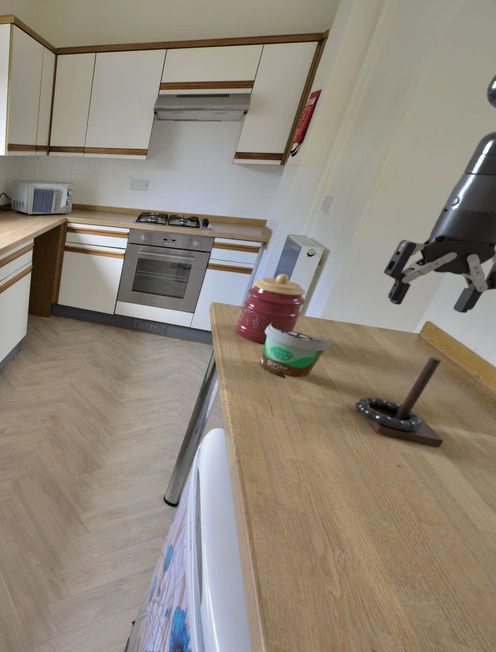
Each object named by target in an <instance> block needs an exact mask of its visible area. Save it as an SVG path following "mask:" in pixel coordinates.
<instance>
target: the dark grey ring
mask: <svg viewBox="0 0 496 652" xmlns="http://www.w3.org/2000/svg"><path fill="white" fill-rule="evenodd" d="M401 406H402V404H399V403H397V402H394V401H391V400H389V399H384V398H379V397H375V396H370V397H367V396H365V397H360V398H358V400H357V401H356V402H355V408H356V409H357V410H358V412H359V413H360V414H361V416H363V415H364V416H365V417H367V418H369V419H370V420H372V421H374V422H376V423H379V424H381V425H384V426H386V427H389V428H394V429H398V430H403V431H411V430H418V429H420V427H421V426H422V424H423V421H422V419H423V418H422V417H421V416H420V415H419V414H418V413H417V412H416V411H413V409H412V410H411V412H410V413H409V415H408V416H407V418H406V420H399V419H395V418H391V417H388V416H386V415H383V414H381V413H378V412H377V411H375V410H373V409H372V408H370V407H378V408H383V409H386V410H389V411H391V412H394V413H398V411H399V409H400V408H401ZM416 413H417V414H418V415H419V416H420V417H421V418H422V419H421V418H420V417H419V416H418V415H417V414H416ZM364 416H363V417H364ZM365 417H364V418H365Z"/></svg>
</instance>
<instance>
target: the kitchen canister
mask: <svg viewBox="0 0 496 652" xmlns="http://www.w3.org/2000/svg"><path fill="white" fill-rule="evenodd" d="M289 278H290V277H289V275H287V274H285V273H280V274H278V275H277V276H276V277H275V278H273V277H264V278H262V279H259V280H256V281H254V283H253V284H254V287H251V288H248V290H247V293H248V297H247V299H245V300H244V302H243V307H242V310H241V312H240V316H239V318H238V320H237V321H236V326H235V331H236V333H238V335H239V336H241V337H243V338H245V339H247V340H250V341H253V342H256V343H259V344H264V345H265V342H266V338H267V335H266V334H265V330H266V328H267V327H268V325H270V324H271V326H272V327H274V328H278V329H281V330H286V331H292V332H294V329H295V327H296V324H297V322H298V319H299V317H300V316H301V314H302V313H301V307H302V306H303V305H305V304H306V303H307V301H306V299H305V298H304V296H303V295H305V294H306V290H305V289H304V288H302V286H301V285H300V284H299V283H296V282H293V281H291V280H289Z"/></svg>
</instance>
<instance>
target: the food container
mask: <svg viewBox="0 0 496 652" xmlns="http://www.w3.org/2000/svg"><path fill="white" fill-rule="evenodd" d="M265 334H266V335H267V338H266V342H265V344H264V347H263V351H262V354H261V358H260V367H261V368H263V370H265V371H266V372H268V373H270V374H271V375H274V376H277V377H280V378H284V379H286V376H290V377H296V378H297V377H298V378H301V377H303V378H304V377H307V376H309V375H310V374H311V372H312V370H313V369H314V367H315V366H316V364H317V362H318V361H319V360H320V357H321V356H322V355H323V353H324V352H325V351H328V350H330V349H331V343H332V341H331V338H329V339H327V340H321V339H318V338H313V337H311V336H308V335H306V334H303V333H301V332H297V331H293V332H292V331H286V330H281V329H278V328H274V327H272V326H271V324H270V325H268V327H267V328H266V330H265Z"/></svg>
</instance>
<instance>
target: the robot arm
mask: <svg viewBox="0 0 496 652" xmlns="http://www.w3.org/2000/svg"><path fill="white" fill-rule="evenodd" d="M486 88H487V89H486V99H487V102H488V103H489V105H490V106H491V107H493V108H495V109H496V74H495V75H493V77H492V79H490V82H489V84H488V85H487V87H486ZM419 251H420V254H421V257H420V258H418V259H416V260H415V261H413V262H412V263H410V264H409V265H408V266H407V267H406V265H407V264H408V262H409V260H410V258H411V257H413V256H415V255H416V254H417V253H418V252H419ZM489 260H491V262H492V263H493V264H492V266H491V268H490V270H489V272H488V274H487V276H486V274H485V272H484V269H483V267H482V265H483V264H485V263H486V262H488V261H489ZM405 267H406V268H405ZM431 272H435V273H441V274H443V273H451V274H454V275H458V276H459V275H460V276H462V277H463V278H464V281H465V284H466V286H467V287H463V290H462V291H461V292H460V295H459V297H458V299H457V300H456V302H455V304H454V305H453V310H454V311H456V312H458V313H460V314H461V313H462V314H466V313H468V311H472V310H473V309H474V308H475V306H476V304H478V301H479V300H480V298H481V296H482V295H483V293H485V292H486V291H490V290H496V130H495V131H492V132H488V133H486V134H485V135H484V136H482V138H481V139H480V140H479V141H478V143H477V145H476V147H475V149H474V151H473V153H472V155H471V157H470V158H469V161H468V163H467V165H466V167H465V169H464V171H463V173H462V174H461V176H460V178H459V179H458V181H457V182H456V184H455V185H454V186H453V188H452V190H451V191H450V194H449V196H448V197H447V200H446V201H445V204H444V206H443V208H442V209H441V212H440V214H439V215H438V218H437V219H436V221H435V223H434V225H433V227H432V229H431V231H430V235H429V237H428V239H427V240H426V241H424V242H423V243H422V242H415V241H411V240H408V239H403V240H401V241H400V242H399V243H398V245H397V247H396V249H395V250H394V252H393V254H392V255H391V257H390V259H389V261H388V263H387V265H386V267H385V268H384V270H383V274H385V275H386V276H388V277H390V278H392V279H394V282H393V284H392V286H391V289H390V290H389V293H388V295H387V297H388V299H389V302H391V304H394V305H399V306H400V305H402V303H403V302H404V299H405V298H406V295H407V293H408V291H409V289H410V287H411V282H413V281H414V280H416V279H418V278H420V277H422V276H425V275H428V274H430V273H431ZM485 277H486V278H485Z"/></svg>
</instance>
